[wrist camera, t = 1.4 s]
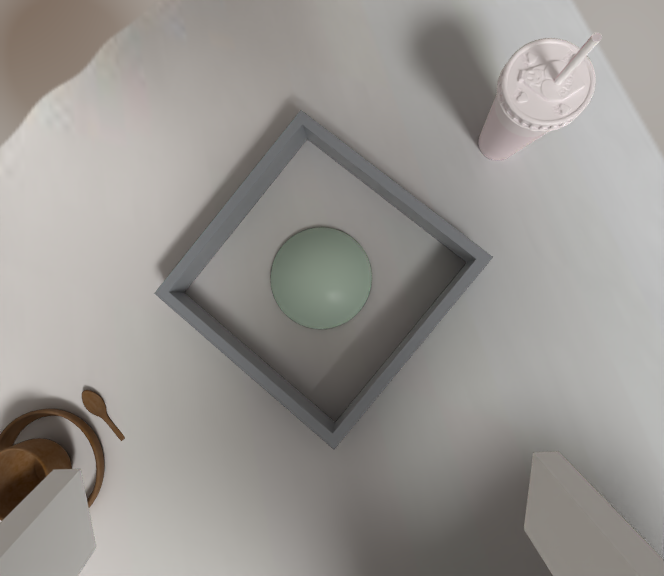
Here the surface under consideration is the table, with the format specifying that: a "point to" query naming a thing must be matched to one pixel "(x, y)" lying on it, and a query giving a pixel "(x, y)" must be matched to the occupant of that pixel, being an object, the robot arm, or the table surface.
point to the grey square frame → (317, 275)
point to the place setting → (44, 454)
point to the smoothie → (538, 94)
